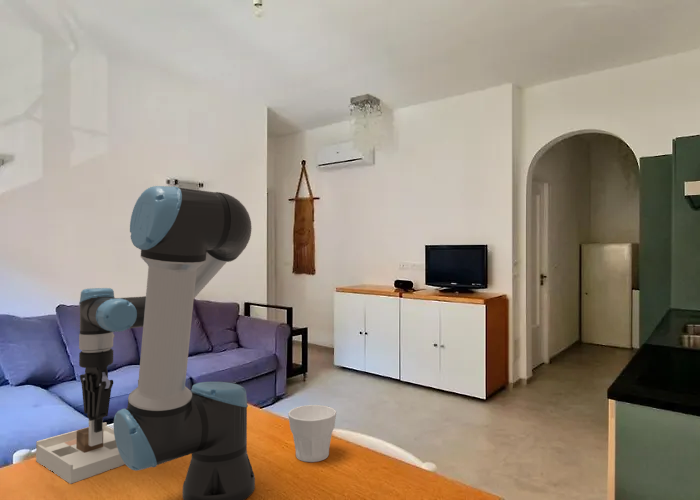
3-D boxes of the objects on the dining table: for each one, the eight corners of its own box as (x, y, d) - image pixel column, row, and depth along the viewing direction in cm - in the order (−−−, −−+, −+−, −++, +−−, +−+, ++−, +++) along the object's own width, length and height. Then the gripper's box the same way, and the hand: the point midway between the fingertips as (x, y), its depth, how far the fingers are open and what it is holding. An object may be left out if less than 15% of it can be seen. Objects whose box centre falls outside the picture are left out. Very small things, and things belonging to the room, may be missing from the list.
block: (103, 446, 117) (103, 429, 117) (84, 452, 113) (84, 434, 113) (95, 442, 119) (95, 425, 120) (76, 448, 116) (76, 430, 116)
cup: (325, 469, 110) (325, 422, 111) (279, 461, 114) (279, 417, 115) (343, 449, 122) (342, 407, 122) (300, 443, 126) (300, 402, 126)
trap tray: (142, 458, 117) (142, 438, 117) (70, 483, 103) (70, 461, 103) (105, 440, 129) (105, 422, 129) (36, 461, 115) (36, 441, 115)
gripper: (124, 350, 114) (123, 445, 114) (99, 344, 122) (98, 433, 121) (92, 355, 108) (91, 455, 108) (69, 348, 116) (68, 442, 115)
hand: (95, 443), depth 115 cm, fingers closed
